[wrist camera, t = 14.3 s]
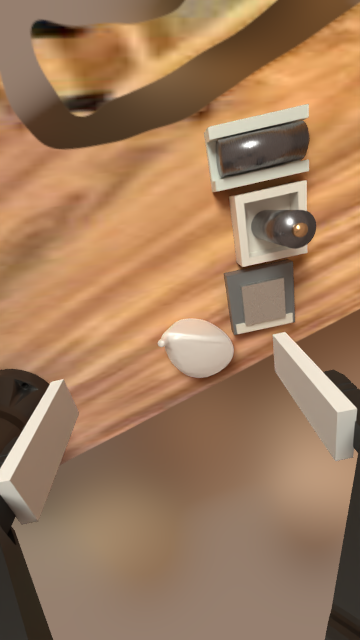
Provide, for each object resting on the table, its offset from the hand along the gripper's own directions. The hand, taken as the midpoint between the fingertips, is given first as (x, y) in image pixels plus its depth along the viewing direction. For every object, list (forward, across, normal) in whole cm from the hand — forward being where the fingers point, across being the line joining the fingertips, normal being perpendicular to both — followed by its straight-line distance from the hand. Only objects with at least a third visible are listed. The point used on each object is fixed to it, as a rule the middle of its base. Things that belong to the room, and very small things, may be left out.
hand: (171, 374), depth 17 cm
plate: (+29, +15, -9) cm, 34 cm away
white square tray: (+31, +17, +3) cm, 35 cm away
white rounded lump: (+31, +2, -16) cm, 35 cm away
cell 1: (+30, +16, +13) cm, 36 cm away
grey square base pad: (+31, +15, -9) cm, 35 cm away
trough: (+31, +16, +13) cm, 37 cm away
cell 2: (+30, +17, +3) cm, 35 cm away
